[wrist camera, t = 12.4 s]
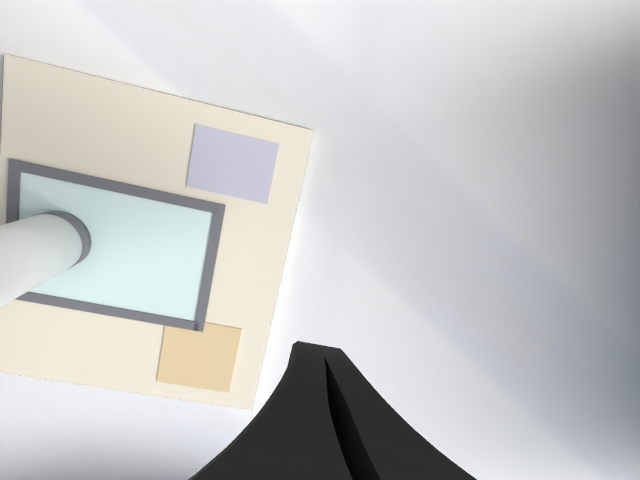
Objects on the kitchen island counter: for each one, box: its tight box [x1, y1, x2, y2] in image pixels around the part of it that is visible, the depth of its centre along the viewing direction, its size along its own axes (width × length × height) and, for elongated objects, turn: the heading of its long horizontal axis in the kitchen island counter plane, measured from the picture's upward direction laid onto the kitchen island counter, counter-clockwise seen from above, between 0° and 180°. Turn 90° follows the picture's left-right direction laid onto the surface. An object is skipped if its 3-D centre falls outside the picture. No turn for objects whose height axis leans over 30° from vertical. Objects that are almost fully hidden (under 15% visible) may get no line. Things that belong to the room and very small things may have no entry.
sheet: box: [0, 54, 314, 411], centre depth 19 cm, size 16×14×1 cm
